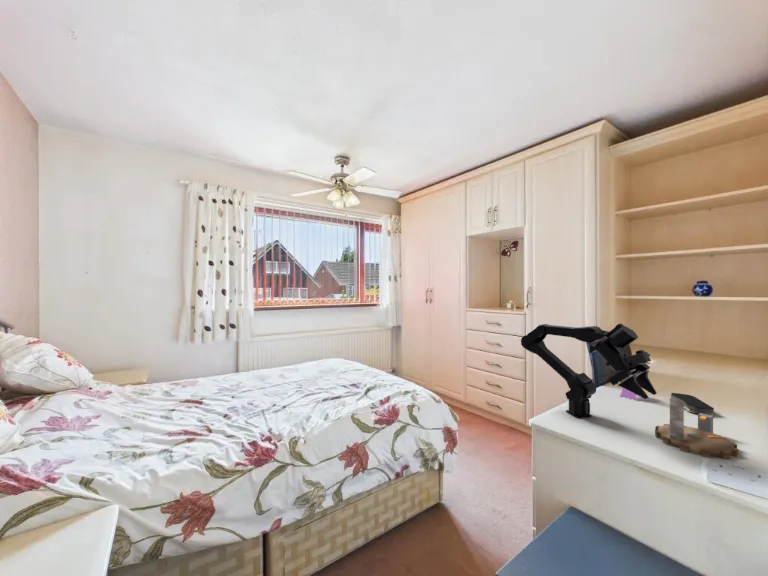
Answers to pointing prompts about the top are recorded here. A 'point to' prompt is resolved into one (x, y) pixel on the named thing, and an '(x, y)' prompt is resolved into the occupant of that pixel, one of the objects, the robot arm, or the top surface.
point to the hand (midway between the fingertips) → (651, 396)
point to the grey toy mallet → (705, 422)
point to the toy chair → (628, 394)
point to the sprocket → (693, 436)
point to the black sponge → (694, 404)
